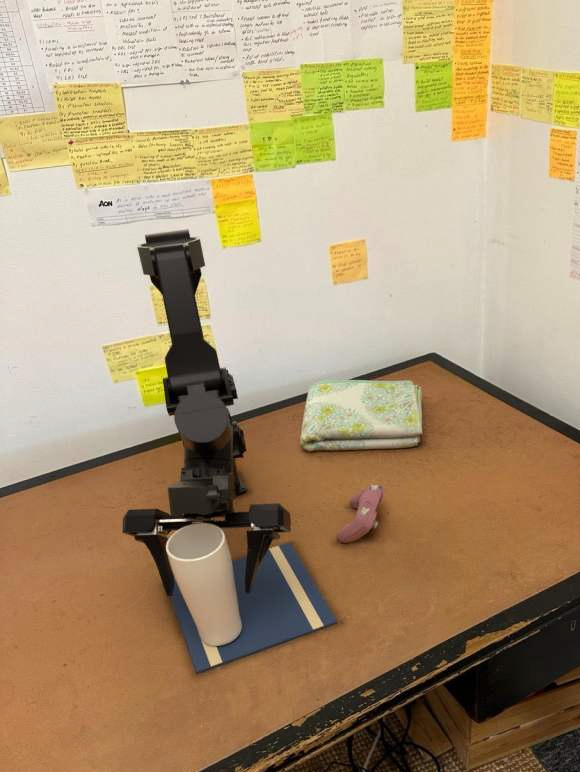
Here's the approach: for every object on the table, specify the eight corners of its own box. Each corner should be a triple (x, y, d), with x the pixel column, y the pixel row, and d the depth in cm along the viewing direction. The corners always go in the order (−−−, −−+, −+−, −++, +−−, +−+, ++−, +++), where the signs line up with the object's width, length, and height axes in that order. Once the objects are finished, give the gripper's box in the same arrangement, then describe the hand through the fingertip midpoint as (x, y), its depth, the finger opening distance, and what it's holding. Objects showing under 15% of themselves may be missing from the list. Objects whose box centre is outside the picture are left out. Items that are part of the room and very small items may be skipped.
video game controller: (361, 555, 107) (380, 522, 103) (332, 541, 106) (350, 507, 102) (375, 514, 115) (394, 481, 110) (349, 501, 114) (366, 468, 110)
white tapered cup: (224, 660, 89) (197, 568, 80) (182, 640, 92) (151, 549, 83) (259, 623, 94) (237, 532, 84) (219, 605, 97) (193, 515, 87)
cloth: (166, 584, 102) (165, 581, 101) (290, 544, 107) (290, 541, 107) (196, 674, 88) (195, 671, 88) (337, 623, 94) (337, 620, 94)
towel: (425, 449, 126) (424, 423, 123) (300, 454, 127) (296, 428, 124) (422, 398, 141) (421, 374, 138) (310, 403, 141) (307, 379, 138)
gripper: (104, 451, 82) (101, 595, 79) (273, 444, 81) (275, 588, 79) (140, 472, 93) (139, 598, 90) (290, 465, 92) (292, 592, 90)
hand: (208, 594), depth 87 cm, fingers open, 9 cm apart
